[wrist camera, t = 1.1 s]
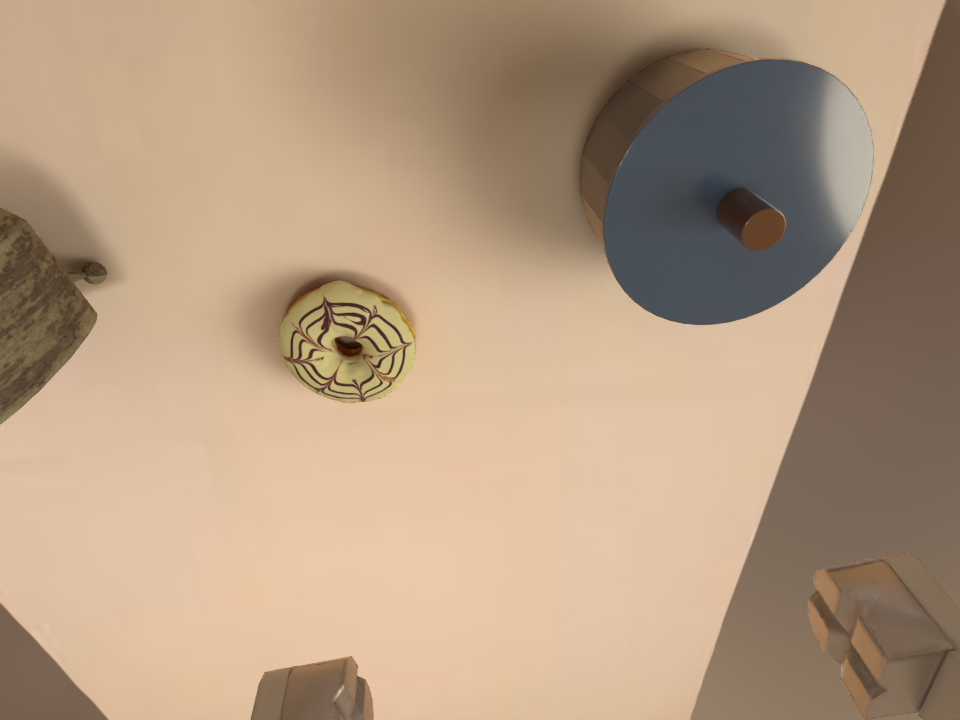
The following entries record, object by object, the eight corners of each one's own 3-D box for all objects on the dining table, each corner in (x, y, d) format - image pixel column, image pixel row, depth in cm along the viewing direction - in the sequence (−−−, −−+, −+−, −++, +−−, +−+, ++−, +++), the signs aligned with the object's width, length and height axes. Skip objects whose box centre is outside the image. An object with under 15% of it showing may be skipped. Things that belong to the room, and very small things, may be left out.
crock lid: (588, 91, 34) (610, 109, 30) (886, 26, 33) (949, 35, 29) (606, 337, 43) (626, 375, 39) (839, 289, 43) (881, 323, 39)
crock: (568, 77, 40) (600, 103, 33) (800, 26, 40) (882, 41, 33) (586, 279, 49) (615, 333, 42) (777, 240, 49) (838, 288, 42)
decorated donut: (324, 249, 46) (317, 270, 43) (439, 317, 50) (441, 341, 47) (262, 344, 50) (252, 370, 47) (373, 400, 54) (371, 427, 51)
